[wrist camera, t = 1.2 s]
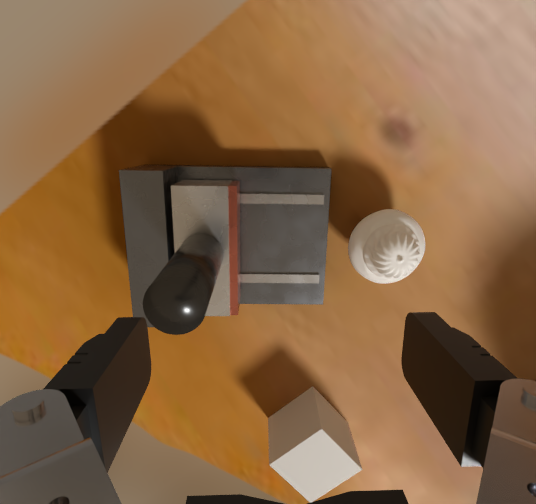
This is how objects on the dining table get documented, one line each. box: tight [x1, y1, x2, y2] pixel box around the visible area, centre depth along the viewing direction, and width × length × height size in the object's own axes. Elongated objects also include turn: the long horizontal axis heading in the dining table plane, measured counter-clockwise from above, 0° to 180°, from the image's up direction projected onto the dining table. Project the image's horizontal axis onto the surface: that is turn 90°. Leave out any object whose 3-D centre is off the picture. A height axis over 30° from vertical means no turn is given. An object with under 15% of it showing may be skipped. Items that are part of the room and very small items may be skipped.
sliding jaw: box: [143, 180, 241, 335], centre depth 25 cm, size 10×5×13 cm, turn 179°
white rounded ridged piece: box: [348, 209, 425, 283], centre depth 30 cm, size 6×6×7 cm
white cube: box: [268, 386, 362, 503], centre depth 37 cm, size 6×6×6 cm
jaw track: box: [119, 165, 331, 327], centre depth 30 cm, size 12×16×6 cm
